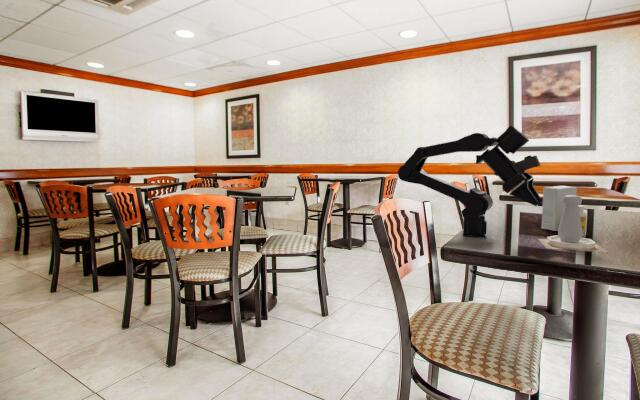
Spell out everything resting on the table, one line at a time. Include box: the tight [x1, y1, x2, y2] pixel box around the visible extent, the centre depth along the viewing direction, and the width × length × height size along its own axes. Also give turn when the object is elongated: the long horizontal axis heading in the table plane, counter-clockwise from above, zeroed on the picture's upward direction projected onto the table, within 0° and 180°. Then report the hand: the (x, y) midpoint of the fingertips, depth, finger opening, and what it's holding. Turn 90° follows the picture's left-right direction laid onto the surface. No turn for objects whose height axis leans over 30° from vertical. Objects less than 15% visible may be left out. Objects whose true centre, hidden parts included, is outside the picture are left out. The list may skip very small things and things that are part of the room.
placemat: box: [537, 238, 608, 253], centre depth 104 cm, size 14×12×1 cm
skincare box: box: [540, 185, 578, 232], centre depth 124 cm, size 8×6×15 cm
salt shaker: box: [557, 195, 584, 243], centre depth 103 cm, size 6×6×13 cm
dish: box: [546, 234, 597, 251], centre depth 104 cm, size 11×11×2 cm
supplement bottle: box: [578, 204, 587, 237], centre depth 116 cm, size 5×5×10 cm
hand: (539, 203), depth 108 cm, fingers open, 9 cm apart
